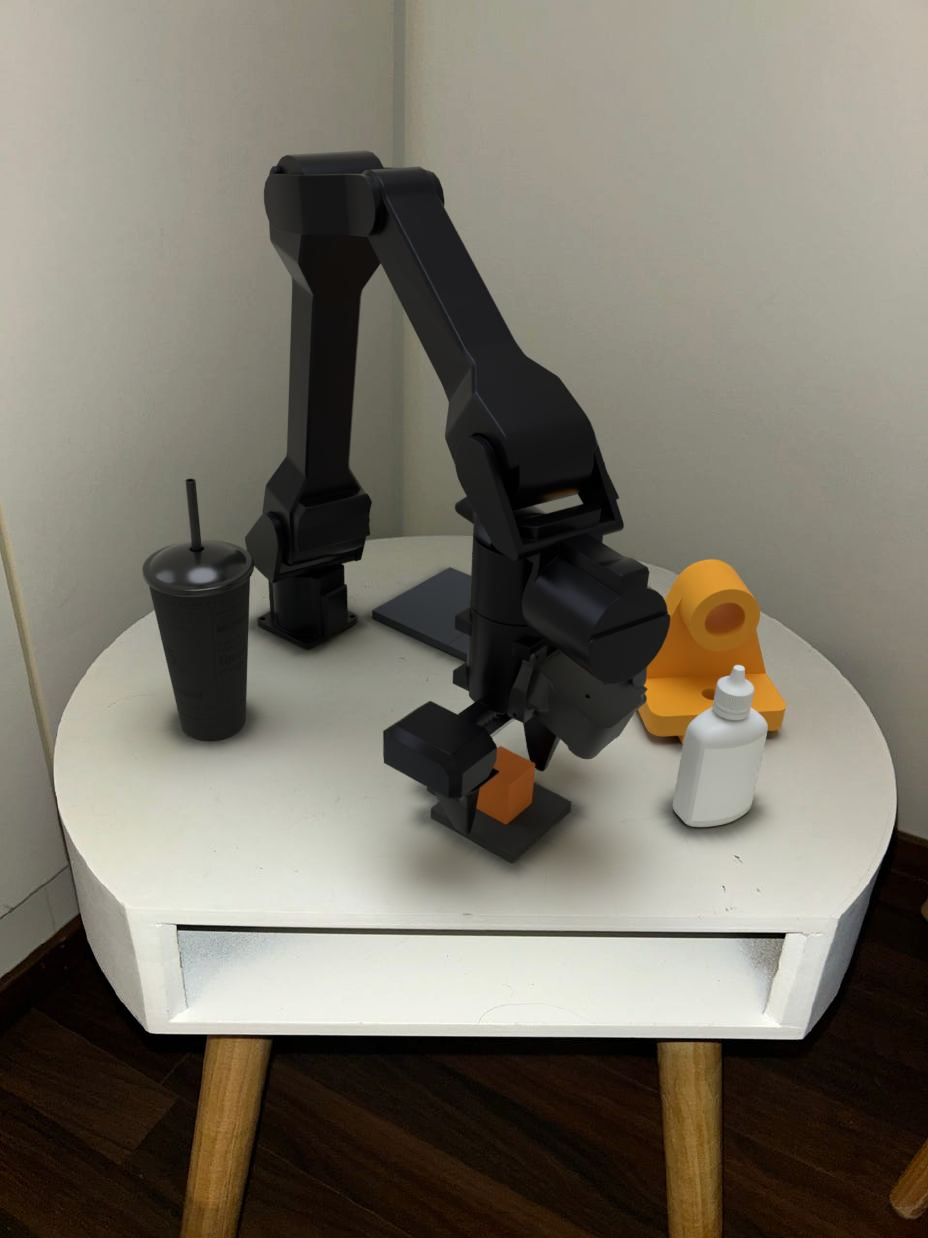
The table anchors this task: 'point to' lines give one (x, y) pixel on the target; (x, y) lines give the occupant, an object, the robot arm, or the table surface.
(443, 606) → the charcoal pad
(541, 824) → the black pad
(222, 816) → the table surface
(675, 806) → the eye dropper bottle
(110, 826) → the table surface
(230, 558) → the drinking cup
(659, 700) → the bracket
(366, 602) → the table surface
